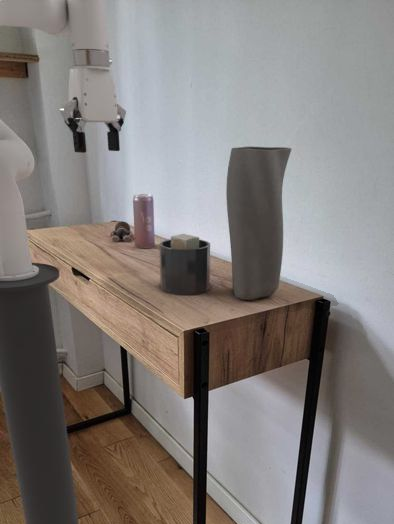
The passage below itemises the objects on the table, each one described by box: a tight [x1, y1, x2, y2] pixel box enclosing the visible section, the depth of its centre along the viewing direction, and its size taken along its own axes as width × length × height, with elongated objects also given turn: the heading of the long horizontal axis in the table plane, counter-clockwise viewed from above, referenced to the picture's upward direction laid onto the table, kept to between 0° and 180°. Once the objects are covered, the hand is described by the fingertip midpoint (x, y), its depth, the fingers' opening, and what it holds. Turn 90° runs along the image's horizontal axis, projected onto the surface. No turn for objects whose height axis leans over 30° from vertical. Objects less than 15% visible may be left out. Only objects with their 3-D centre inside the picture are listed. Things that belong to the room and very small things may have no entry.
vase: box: [225, 146, 292, 301], centre depth 100 cm, size 12×12×30 cm
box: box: [170, 233, 200, 249], centre depth 109 cm, size 5×4×11 cm
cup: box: [158, 238, 211, 296], centre depth 109 cm, size 11×11×10 cm
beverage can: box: [132, 193, 156, 249], centre depth 144 cm, size 6×6×15 cm
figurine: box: [108, 221, 135, 243], centre depth 156 cm, size 8×5×10 cm
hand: (97, 151), depth 107 cm, fingers open, 9 cm apart
